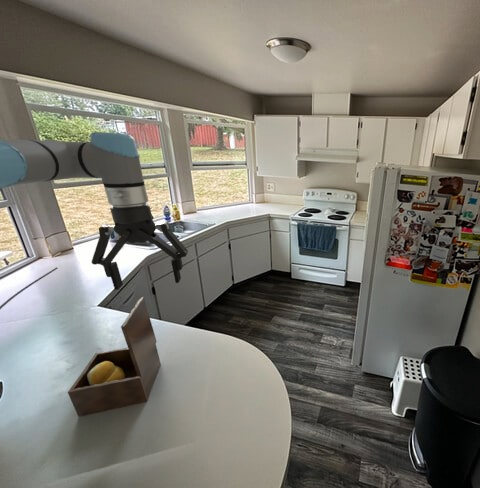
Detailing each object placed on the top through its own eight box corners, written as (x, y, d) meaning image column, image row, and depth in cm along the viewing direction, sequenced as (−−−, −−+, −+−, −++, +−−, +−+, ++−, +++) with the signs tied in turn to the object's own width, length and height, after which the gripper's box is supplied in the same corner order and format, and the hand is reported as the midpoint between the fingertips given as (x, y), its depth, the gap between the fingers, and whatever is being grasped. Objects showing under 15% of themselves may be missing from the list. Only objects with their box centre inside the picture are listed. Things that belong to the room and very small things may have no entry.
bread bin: (78, 416, 66) (67, 392, 62) (103, 375, 78) (95, 353, 75) (147, 401, 70) (140, 378, 67) (160, 364, 82) (155, 343, 79)
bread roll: (109, 399, 69) (120, 390, 69) (79, 381, 66) (91, 371, 66) (125, 377, 77) (135, 369, 77) (99, 360, 74) (109, 352, 74)
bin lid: (120, 326, 61) (124, 326, 61) (140, 297, 73) (143, 296, 73) (138, 377, 67) (141, 376, 67) (153, 342, 79) (156, 341, 79)
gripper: (51, 209, 52) (83, 297, 59) (185, 205, 59) (199, 284, 66) (73, 202, 58) (99, 282, 66) (191, 199, 66) (203, 272, 73)
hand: (149, 283), depth 66 cm, fingers open, 13 cm apart
